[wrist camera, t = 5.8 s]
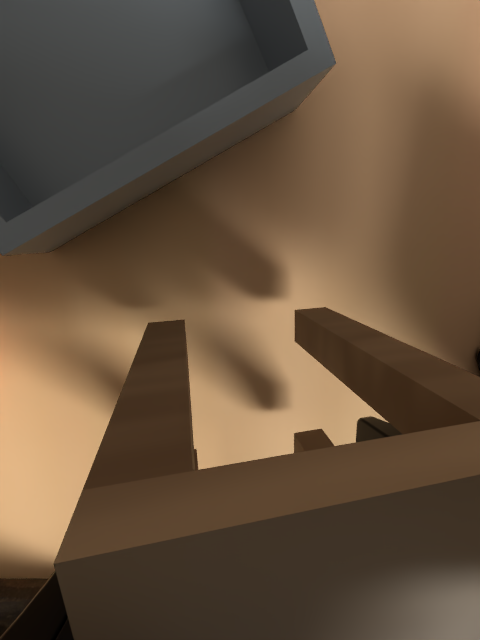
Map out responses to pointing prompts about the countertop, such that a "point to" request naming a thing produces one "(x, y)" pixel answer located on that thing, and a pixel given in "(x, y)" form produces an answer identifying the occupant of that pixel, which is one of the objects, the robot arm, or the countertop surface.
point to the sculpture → (16, 598)
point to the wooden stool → (283, 509)
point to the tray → (135, 99)
